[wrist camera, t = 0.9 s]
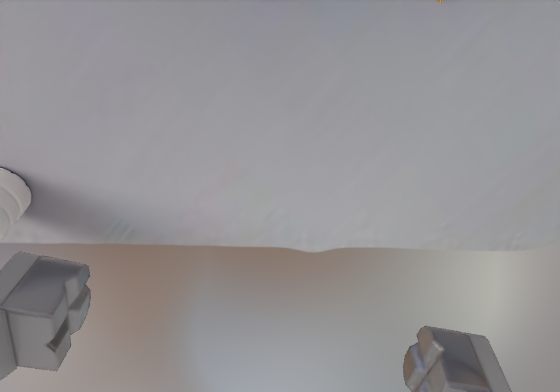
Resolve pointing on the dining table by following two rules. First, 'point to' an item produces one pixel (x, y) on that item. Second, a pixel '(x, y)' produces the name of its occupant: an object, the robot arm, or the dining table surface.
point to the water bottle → (12, 200)
